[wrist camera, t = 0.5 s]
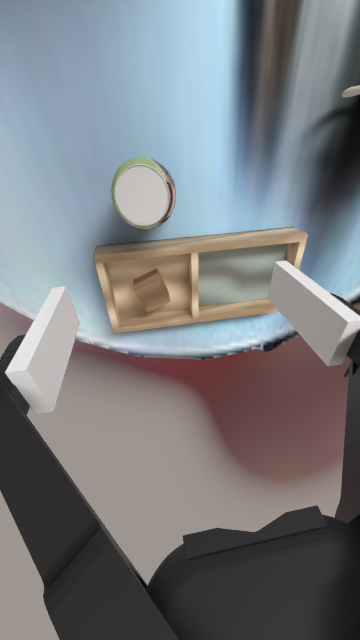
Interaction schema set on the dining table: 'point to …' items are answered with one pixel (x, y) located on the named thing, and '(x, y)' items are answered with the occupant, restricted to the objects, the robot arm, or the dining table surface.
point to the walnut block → (151, 290)
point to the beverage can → (143, 193)
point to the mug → (351, 91)
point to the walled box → (196, 276)
